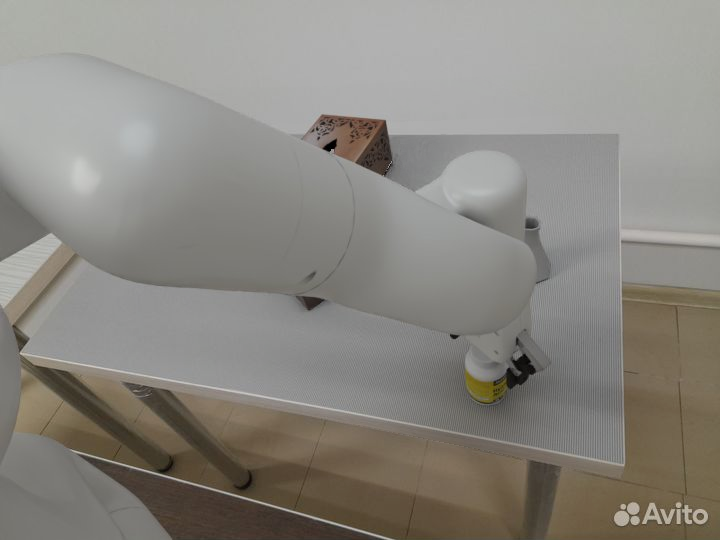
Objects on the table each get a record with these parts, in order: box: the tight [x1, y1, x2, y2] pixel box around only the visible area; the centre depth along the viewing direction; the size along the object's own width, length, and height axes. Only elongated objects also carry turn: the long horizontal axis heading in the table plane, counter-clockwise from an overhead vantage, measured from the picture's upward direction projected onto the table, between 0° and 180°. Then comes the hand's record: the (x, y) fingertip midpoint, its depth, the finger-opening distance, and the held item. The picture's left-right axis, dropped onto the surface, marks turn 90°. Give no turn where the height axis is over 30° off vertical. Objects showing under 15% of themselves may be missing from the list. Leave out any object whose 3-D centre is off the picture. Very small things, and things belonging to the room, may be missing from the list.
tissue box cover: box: [300, 113, 393, 176], centre depth 101 cm, size 26×14×10 cm, turn 155°
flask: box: [524, 215, 551, 283], centre depth 80 cm, size 7×7×10 cm
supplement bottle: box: [464, 342, 509, 407], centre depth 67 cm, size 5×5×10 cm
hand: (487, 355), depth 66 cm, fingers open, 9 cm apart
